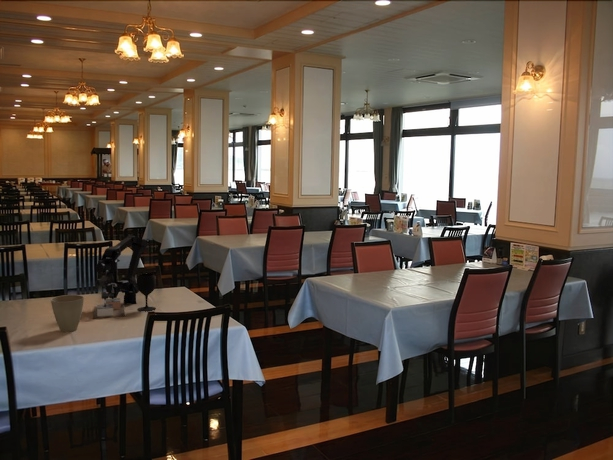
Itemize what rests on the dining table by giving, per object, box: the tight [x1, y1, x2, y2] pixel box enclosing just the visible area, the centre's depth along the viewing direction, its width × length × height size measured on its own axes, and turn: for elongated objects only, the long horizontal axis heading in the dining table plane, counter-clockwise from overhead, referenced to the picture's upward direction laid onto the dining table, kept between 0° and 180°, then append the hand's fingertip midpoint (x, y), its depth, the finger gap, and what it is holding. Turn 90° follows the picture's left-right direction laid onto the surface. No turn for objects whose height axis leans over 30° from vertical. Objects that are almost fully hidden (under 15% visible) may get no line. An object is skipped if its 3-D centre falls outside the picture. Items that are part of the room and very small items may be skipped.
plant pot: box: [50, 294, 85, 333], centre depth 273 cm, size 15×15×16 cm
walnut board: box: [92, 304, 126, 320], centre depth 310 cm, size 16×26×1 cm, turn 20°
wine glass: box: [136, 272, 157, 313], centre depth 316 cm, size 10×10×20 cm
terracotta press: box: [106, 297, 121, 309], centre depth 317 cm, size 8×8×4 cm
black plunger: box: [100, 291, 110, 307], centre depth 302 cm, size 4×4×8 cm
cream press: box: [96, 304, 113, 317], centre depth 302 cm, size 8×8×4 cm
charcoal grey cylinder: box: [108, 291, 115, 301], centre depth 317 cm, size 4×4×8 cm
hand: (112, 297), depth 316 cm, fingers closed on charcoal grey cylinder, 4 cm apart
